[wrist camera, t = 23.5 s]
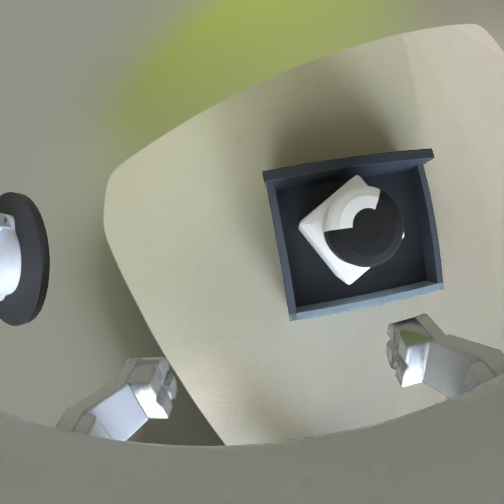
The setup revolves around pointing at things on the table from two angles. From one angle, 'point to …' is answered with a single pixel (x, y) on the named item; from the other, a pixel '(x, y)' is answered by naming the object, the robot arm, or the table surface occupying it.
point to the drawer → (375, 278)
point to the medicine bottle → (354, 229)
